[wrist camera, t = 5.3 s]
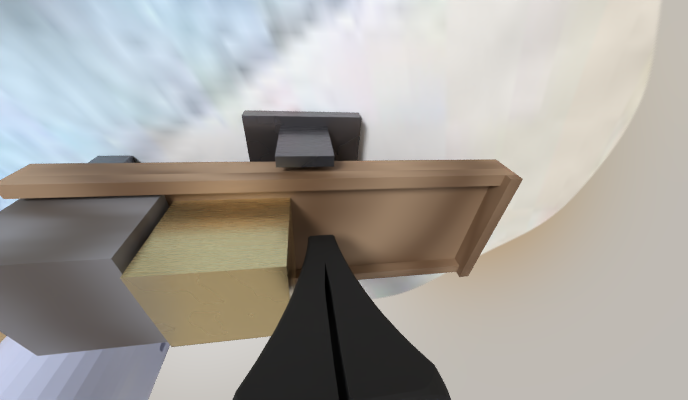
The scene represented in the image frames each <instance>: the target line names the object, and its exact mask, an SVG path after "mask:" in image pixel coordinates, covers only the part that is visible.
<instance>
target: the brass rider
mask: <svg viewBox="0 0 688 400" xmlns="http://www.w3.org/2000/svg"><path fill="white" fill-rule="evenodd" d="M295 267H296V262H295V249H294V236H293V224H292V211H291V198H261V199H227V200H193V201H173V202H172V204H171V205H170V207H169V208H168V210H167V211H166V212H165V214H164V215H163V217H162V218H161V220H160V221H159V223H158V224H157V225H156V227H155V228H154V230H153V231H152V233H151V234H150V235H149V237H148V238H147V240H146V241H145V243H144V244H143V245H142V247H141V248H140V250H139V251H138V253H137V254H136V256H135V257H134V258H133V260H132V261H131V263H130V264H129V266H128V267H127V268H126V270H125V271H124V273H123V274H122V276H121V277H120V279H121V280H122V282H123V283H124V284H125V286H126V287H127V288H128V290H129V291H130V292H131V294H132V295H133V296H134V298H135V299H136V300H137V302H138V303H139V304H140V306H141V307H142V308H143V310H144V311H145V312H146V314H147V315H148V316H149V318H150V319H151V320H152V322H153V323H154V324H155V326H156V327H157V328H158V330H159V331H160V332H161V334H162V335H163V336H164V338H165V339H166V340H167V342H168V343H169V344H170V345H171V346H172V347H175V346H184V345H193V344H203V343H211V342H221V341H230V340H239V339H249V338H258V337H266V336H272V334H273V332H274V330H275V328H276V327H277V325H278V323H279V321H280V319H281V317H282V315H283V313H284V311H285V309H286V307H287V305H288V303H289V300H290V298H291V296H292V293H293V291H294V288H295Z"/></svg>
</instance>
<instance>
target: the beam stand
mask: <svg viewBox="0 0 688 400" xmlns="http://www.w3.org/2000/svg"><path fill="white" fill-rule="evenodd" d="M242 120H243V125H244V131H245V136H246V142H247V147H248V153H249V159H250V162H276V167H334V161H357V155H358V145H359V135H360V126H361V116H360V115H359V113H341V112H289V111H244V113H243V114H242ZM89 163H135V161H134V159H133V157H132V156H97V157H96V158H94V159H93V160H91V161H90V162H89ZM295 286H296V285H295Z"/></svg>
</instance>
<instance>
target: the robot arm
mask: <svg viewBox="0 0 688 400" xmlns="http://www.w3.org/2000/svg"><path fill="white" fill-rule="evenodd" d="M169 346H170V344H169V343H168V342H163V343H154V344H145V345H135V346H126V347H117V348H107V349H98V350H89V351H80V352H70V353H61V354H52V355H42V356H37V355H35V354H34V353H32V352H31V351H29V350H27V349H26V348H24V347H23V346H21V345H20V344H18V343H17V342H15V341H14V340H12V339H11V338H9V337H8V336H6V337H5V338H4V340H3V341H2V342H1V343H0V400H148V399H149V396H150V394H151V391H152V389H153V386H154V384H155V381H156V379H157V376H158V374H159V371H160V369H161V366H162V364H163V361H164V359H165V356H166V354H167V351H168V349H169ZM233 400H451V398H450V396H449V393H448V390H447V388H446V386H445V384H444V382H443V380H442V378H441V376H440V374H439V372H438V371H437V369H436V367H435V365H434V364H433V363H432V362H430V361H429V360H428V359H427V358H426V357H425V356H424V355H423V354H422V353H420V352H419V351H418V350H417V349H416V348H415V347H414V346H413V345H412V344H411V343H410V342H409V341H408V340H407V339H406V338H405V337H404V336H403V335H402V334H401V333H400V332H399V331H398V330H397V329H396V328H395V327H394V326H393V325H392V323H391V322H390V321H389V320H388V319H387V318H386V317H385V316H384V315H383V314H382V312H381V311H380V310H379V309H378V308H377V306H376V305H375V304H374V302H373V301H372V300H371V299H370V297H369V296H368V295H367V293H366V292H365V290H364V289H363V288H362V286H361V285H360V283H359V282H358V280H357V279H356V277H355V276H354V274H353V272H352V271H351V269H350V267H349V266H348V264H347V262H346V260H345V258H344V257H343V255H342V253H341V251H340V248H339V246H338V244H337V241H336V239H335V236H334V235H316V236H310V237H308V245H307V251H306V255H305V259H304V263H303V266H302V269H301V272H300V275H299V278H298V281H297V283H296V286H295V288H294V291H293V293H292V296H291V298H290V300H289V303H288V305H287V307H286V309H285V311H284V313H283V315H282V317H281V319H280V321H279V323H278V325H277V327H276V328H275V330H274V332H273V334H272V336H271V338H270V339H269V341H268V343H267V344H266V346H265V348H264V349H263V351H262V353H261V354H260V356H259V358H258V359H257V361H256V362H255V364H254V365H253V367H252V368H251V370H250V371H249V373H248V375H247V376H246V377H245V379H244V380H243V382H242V383H241V385H240V386H239V388H238V389H237V391H236V393H235V395H234V398H233Z"/></svg>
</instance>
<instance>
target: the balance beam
mask: <svg viewBox="0 0 688 400" xmlns="http://www.w3.org/2000/svg"><path fill="white" fill-rule="evenodd" d="M522 180H523V179H522V178H521V177H519V176H518V175H516V174H515V173H514V172H512V171H511V170H510V169H508V168H507V167H505V166H504V165H503V164H501V163H500V162H499V161H497V160H393V161H334V167H276V162H177V163H68V164H29V165H27V166H26V167H24V168H22V169H20V170H18V171H16V172H14V173H13V174H11V175H9V176H7V177H5V178H3V179H1V180H0V196H1V197H2V198H3V199H19V200H17V201H16V202H14V203H13V204H11V205H10V206H8V207H6V208H5V209H3V210H2V211H0V332H2V333H3V334H5V335H6V336H8V337H9V338H11V339H12V340H14V341H15V342H17V343H18V344H20V345H21V346H23V347H24V348H26V349H27V350H29V351H31V352H32V353H34V354H35V355H37V356H42V355H52V354H61V353H70V352H80V351H89V350H98V349H107V348H117V347H126V346H135V345H145V344H154V343H163V342H167V340H166V339H165V338H164V336H163V335H162V334H161V332H160V331H159V330H158V328H157V327H156V326H155V324H154V323H153V322H152V320H151V319H150V318H149V316H148V315H147V314H146V312H145V311H144V310H143V308H142V307H141V306H140V304H139V303H138V302H137V300H136V299H135V298H134V296H133V295H132V294H131V292H130V291H129V290H128V288H127V287H126V286H125V284H124V283H123V282H122V280H121V279H120V277H121V276H122V274H123V273H124V271H125V270H126V268H127V267H128V266H129V264H130V263H131V261H132V260H133V258H134V257H135V256H136V254H137V253H138V251H139V250H140V248H141V247H142V245H143V244H144V243H145V241H146V240H147V238H148V237H149V235H150V234H151V233H152V231H153V230H154V228H155V227H156V225H157V224H158V223H159V221H160V220H161V218H162V217H163V215H164V214H165V212H166V211H167V210H168V208H169V207H170V205H171V204H172V202H173V201H193V200H227V199H261V198H291V211H292V224H293V236H294V249H295V262H296V267H295V285H296V283H297V281H298V278H299V275H300V272H301V269H302V266H303V263H304V259H305V255H306V251H307V245H308V237H310V236H316V235H334V236H335V239H336V241H337V244H338V246H339V248H340V251H341V253H342V255H343V257H344V258H345V260H346V262H347V264H348V266H349V267H350V269H351V271H352V272H353V274H354V276H355V277H356V279H357V280H361V279H373V278H385V277H397V276H410V275H422V274H434V273H446V272H457V274H458V275H459V277H463V276H468V275H469V273H470V272H471V270H472V268H473V266H474V264H475V263H476V261H477V259H478V257H479V256H480V254H481V252H482V250H483V249H484V247H485V245H486V243H487V242H488V240H489V238H490V236H491V235H492V233H493V231H494V229H495V227H496V226H497V224H498V222H499V220H500V219H501V217H502V215H503V213H504V212H505V210H506V208H507V206H508V204H509V203H510V201H511V199H512V197H513V196H514V194H515V192H516V190H517V189H518V187H519V185H520V183H521V181H522Z"/></svg>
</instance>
